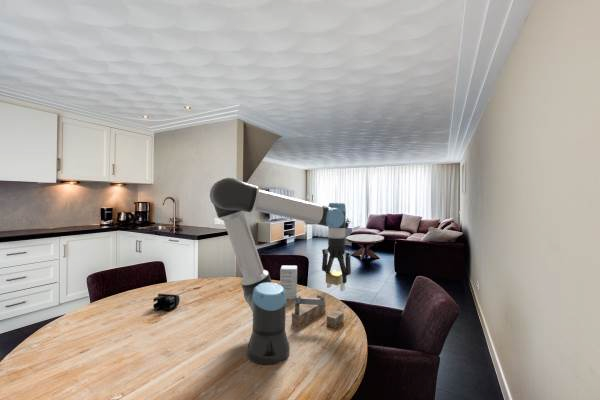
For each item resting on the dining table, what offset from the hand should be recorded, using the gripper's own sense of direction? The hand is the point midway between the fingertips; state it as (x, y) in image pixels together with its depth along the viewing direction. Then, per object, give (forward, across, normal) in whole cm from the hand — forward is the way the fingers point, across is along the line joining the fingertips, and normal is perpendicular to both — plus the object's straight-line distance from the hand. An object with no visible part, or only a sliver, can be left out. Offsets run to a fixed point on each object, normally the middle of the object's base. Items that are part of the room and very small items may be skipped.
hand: (335, 288), depth 125 cm
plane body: (+15, +12, +2) cm, 20 cm away
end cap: (+16, +74, +37) cm, 85 cm away
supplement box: (+16, +37, -14) cm, 43 cm away
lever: (+6, +8, +9) cm, 14 cm away
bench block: (+15, 0, 0) cm, 15 cm away
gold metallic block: (-3, 0, 0) cm, 3 cm away
